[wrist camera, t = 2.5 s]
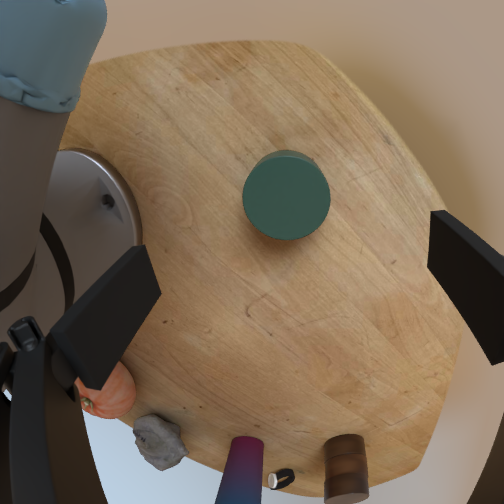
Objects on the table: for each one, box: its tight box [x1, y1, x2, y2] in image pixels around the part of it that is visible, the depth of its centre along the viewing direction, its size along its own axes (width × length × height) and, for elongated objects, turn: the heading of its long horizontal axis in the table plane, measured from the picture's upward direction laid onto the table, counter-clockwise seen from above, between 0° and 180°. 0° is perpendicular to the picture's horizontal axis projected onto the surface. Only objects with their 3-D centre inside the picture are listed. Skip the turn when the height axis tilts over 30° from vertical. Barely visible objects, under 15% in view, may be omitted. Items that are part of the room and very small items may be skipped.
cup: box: [215, 436, 264, 504], centre depth 34 cm, size 7×7×15 cm
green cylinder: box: [243, 150, 331, 240], centre depth 22 cm, size 6×6×4 cm
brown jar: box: [324, 434, 369, 504], centre depth 34 cm, size 7×7×10 cm
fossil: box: [133, 414, 189, 471], centre depth 37 cm, size 11×9×8 cm
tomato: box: [74, 361, 136, 419], centre depth 32 cm, size 11×11×8 cm
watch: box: [268, 469, 295, 490], centre depth 45 cm, size 8×5×4 cm, turn 164°
